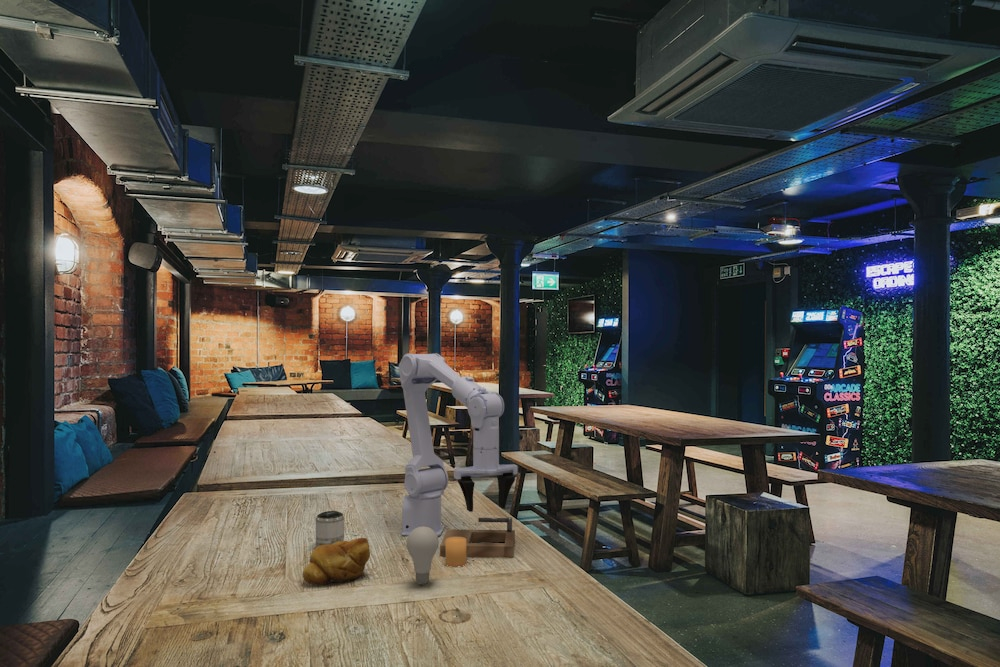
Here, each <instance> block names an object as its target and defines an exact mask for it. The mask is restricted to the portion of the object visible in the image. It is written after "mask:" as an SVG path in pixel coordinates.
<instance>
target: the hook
mask: <svg viewBox="0 0 1000 667" xmlns="http://www.w3.org/2000/svg"><path fill="white" fill-rule="evenodd" d="M477 520H478V523H506V530H507V532H512V530H513V517H510V516H509V517H478V519H477Z"/></svg>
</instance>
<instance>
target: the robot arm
mask: <svg viewBox="0 0 1000 667" xmlns="http://www.w3.org/2000/svg"><path fill="white" fill-rule="evenodd" d="M398 371H399V378H400V385H401V388H402V390H403V392H402V393H403V397H404V398H403V399H404V404H405V410H406V411H405V412H406V417H407V425H408V426H407V427H408V431H409V432H408V433H409V438H410V439H409V440H410V445H411V451H412V458H411V460H410V461H408V463H407V464H406V465H405V467H404V471H405V472H404V474H405V475H404V488H405V490H406V492H407V494H408V495H407V494H406V495H404V497H403V499H402V507H401V511H402V512H401V516H402V517H401V524H402V525H401V536H409V534H410V533H411V532H412V531H413V530H414V529H415V528H418V527H422V526H425V527H429V528H431V529H432V530H433V531H434V532H435V533H436V534H437V537H439V536H441V535H442V533H443V531H444V529H445V528H446V526H445V524H442V496H443V495H444V493H445V490H446V489H447V487H448V484H449V474H448V472H447V469H446V467H445V465H444V464H445V463H444V460H443V459H442V458H440V457H439V456H437V454H435V451H434V449H435V448H434V443H433V442H434V441H433V436H432V430H431V424H430V418H429V417H430V416H429V413H428V412H429V411H428V406H427V405H428V404H427V398H426V391H427V390H428V388H430V387H431V386H433V384H434V383H435V382H436V381H437V380H438V381H440V382H441V383H442V384H444V385H445V386H446V387H448V388H450V389H451V394H452V396H453V398H454V399H456V400H457V401H458V402H460V403H461V404H462V405H464V407H466V409H467V413H468V415H469V417H470V425H471V427H472V429H473V430H472V432H473V434H472V436H473V437H472V438H473V443H472V444H473V446H472V447H473V448H472V450H473V452H472V453H473V454H472V456H473V457H472V459H473V460H472V461H473V462H472V464H473V465H472V466H467V467H461V468H453V478H454V479H456V481H457V483H458V485H459V487H460V489H461V491H462V494H463V498H464V500H465V506H466V511H468V512H469V513H472V512H474V489H475V484H476V483H475V481H473V479H472V478H477V477H478V478H481V477H490V476H496V478H497V487H498V507H499V508H501V509H506V505H507V500H508V497H509V495H510V494H509V493H510V491H511V488H512V487H513V485H514V483H515V480H516V476H515V475H518V473H519V472H518V469H519V468H518V465H516V464H500V431H499V430H500V417H501V416H502V415H503V414H504V412H505V401H504V399H503V397H502V396H501V395H500V394H499V392H496V391H495V392H493V391H492V392H490V391H488V390H487V389H486V387H485V386H484V387H482V386H481V385H479V384H478V383H477V382H476V381H475V380H474V379H475V378H474V377H472V376H466V375H465V376H460V375H459V374H458V373H457V372H456V371H455V370H454V369H452V368H451V367H450V366H449V364H447V363H446V358H445V357H442V356H441V355H440V354H439V353H437V352H435V353H434V352H433V353H409V352H407V353H405V354H404V355H403V356H402V358H401V360H400V362H399V364H398ZM426 467H428V468H426Z"/></svg>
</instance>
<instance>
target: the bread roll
mask: <svg viewBox="0 0 1000 667" xmlns="http://www.w3.org/2000/svg"><path fill="white" fill-rule="evenodd" d="M370 550H371V549H370V544H369V540H368V539H367V537H359V538H355V539H351V540H344V541H337V542H335V543H334V544H332V545H321V546H318V547H317V546H316V547H315V548H314V549H313V550H312V552H311V554H310V556H309V563H308V564H307V565H306V566H305V568H304V569H303V571H302V578H303V580H304V582H306V584H310V585H319V586H320V585H326V584H328V583H330V582H334V583H337V582H341V583H342V582H349V581H351V580H355V579H358V578H359V577H361V575H362V574H363V572H364V571H365V568H366V564H367V563H368V561H369V559H370V557H371V552H370Z"/></svg>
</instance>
